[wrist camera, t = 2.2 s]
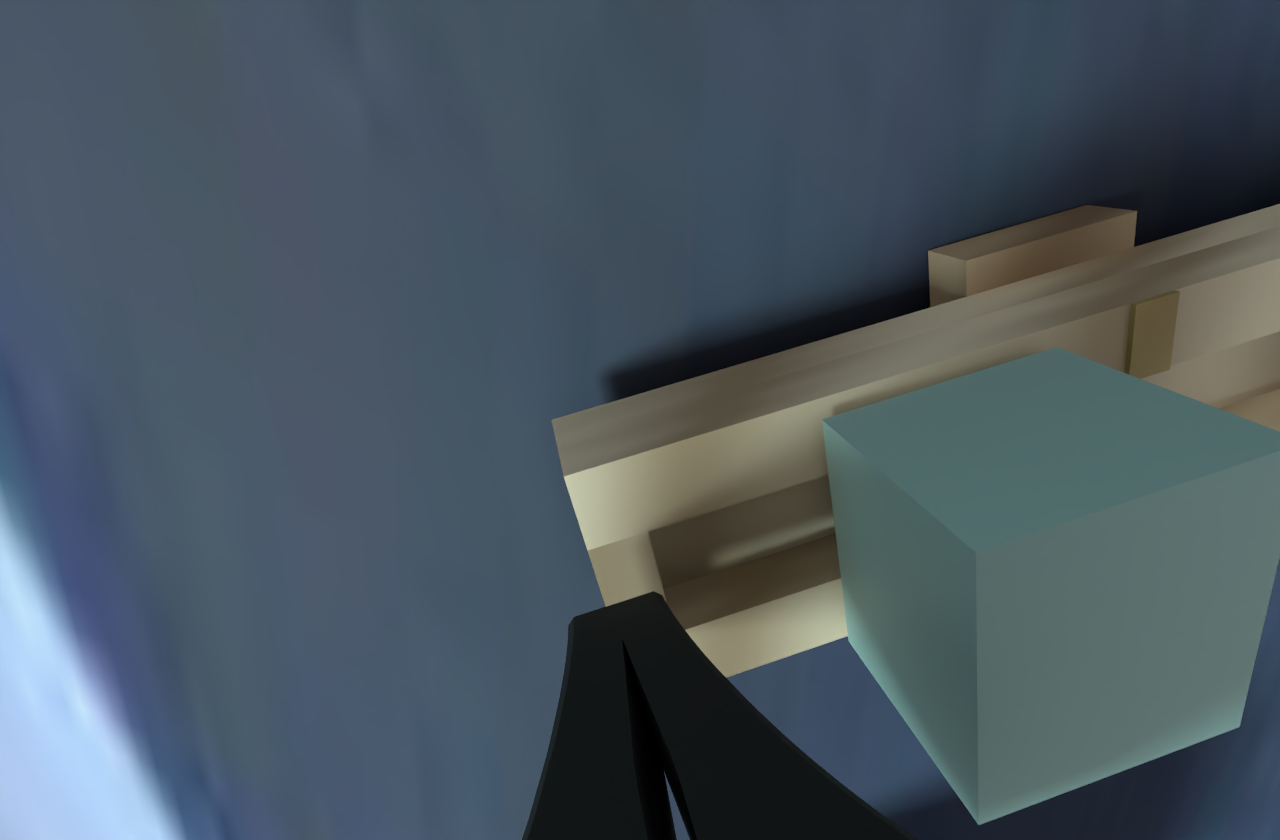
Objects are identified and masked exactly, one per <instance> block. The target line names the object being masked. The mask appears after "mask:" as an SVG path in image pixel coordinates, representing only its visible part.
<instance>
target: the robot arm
mask: <svg viewBox="0 0 1280 840" xmlns="http://www.w3.org/2000/svg"><path fill="white" fill-rule="evenodd" d="M664 772H665V774H666V777H667V780H668V782H669V785H670V788H671V790H672V793H673V796H674V798H675V801H676V803H677V806H678V809H679V811H680V814H681V817H682V819H683V822H684V825H685V827H686V830H687V833H688V835H689V838H690V840H917V839H916V838H915V837H913V836H912V835H910V834H909V833H907V832H906V831H904V830H903V829H902V828H900V827H899V826H897V825H896V824H894V823H893V822H891V821H890V820H888V819H887V818H886V817H884V816H883V815H882V814H880V813H879V812H878V811H876V810H875V809H874V808H872V807H871V806H870V805H869V804H867V803H866V802H865V801H863V800H862V799H861V798H859V797H858V796H857V795H856V794H854V793H853V792H852V791H850V790H849V789H848V788H846V787H845V786H844V785H843V784H841V783H840V782H839V781H838V780H836V779H835V778H834V777H833V776H832V775H830V774H829V773H828V772H827V771H825V770H824V769H823V768H822V767H820V766H819V765H818V764H817V763H816V762H814V761H813V760H812V759H811V758H810V757H808V756H807V755H806V754H805V753H804V752H803V751H802V750H800V749H799V748H798V747H797V746H796V745H795V744H794V743H792V742H791V741H790V740H789V739H788V738H787V737H786V736H785V735H784V734H782V733H781V732H780V731H779V730H778V729H777V728H776V727H775V726H774V725H773V724H772V723H771V722H770V721H769V720H767V719H766V718H765V717H764V716H763V715H762V714H761V713H760V712H759V711H758V710H757V709H756V708H755V707H754V706H753V705H752V704H751V703H750V702H749V701H748V700H747V699H746V698H745V697H744V696H743V695H742V694H741V693H740V692H739V691H738V690H737V689H736V688H735V687H734V686H733V685H732V684H731V683H730V682H729V680H728V679H727V678H726V677H725V676H724V675H723V674H722V673H721V672H720V671H719V670H718V669H717V668H716V666H715V665H714V664H713V663H712V662H711V661H710V660H709V659H708V658H707V656H706V655H705V654H704V653H703V652H702V651H701V649H700V648H699V647H698V646H697V645H696V643H695V642H694V641H693V640H692V638H691V637H690V636H689V635H688V633H687V632H686V631H685V629H684V628H683V627H682V625H681V624H680V623H679V621H678V620H677V619H676V617H675V616H674V614H673V613H672V611H671V610H670V608H669V606H668V605H667V603H666V601H665V600H664V598H663V596H662V595H661V594H659V593H656V592H654V591H653V592H650V593H646V594H643V595H640V596H637V597H634V598H631V599H628V600H625V601H622V602H619V603H616V604H613V605H610V606H606V607H603V608H600V609H597V610H594V611H591V612H588V613H585V614H582V615H579V616H576V617H574V618H573V619H572V621H571V623H570V624H569V628H568V645H567V655H566V663H565V670H564V676H563V682H562V688H561V693H560V699H559V703H558V708H557V712H556V717H555V722H554V726H553V731H552V735H551V740H550V744H549V748H548V752H547V756H546V760H545V764H544V767H543V771H542V774H541V778H540V781H539V785H538V788H537V792H536V795H535V799H534V803H533V806H532V810H531V813H530V816H529V820H528V823H527V826H526V829H525V832H524V835H523V838H522V840H676V834H675V829H674V823H673V818H672V812H671V807H670V801H669V796H668V791H667V785H666V780H665V774H664Z"/></svg>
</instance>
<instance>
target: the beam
mask: <svg viewBox="0 0 1280 840" xmlns="http://www.w3.org/2000/svg"><path fill="white" fill-rule="evenodd" d="M1136 218H1137V211H1133V210H1125V209H1117V208H1108V207H1100V206H1092V205H1085V206H1081V207H1078V208H1074V209H1071V210H1067V211H1064V212H1060V213H1057V214H1053V215H1050V216H1046V217H1043V218H1039V219H1036V220H1033V221H1029V222H1026V223H1022V224H1019V225H1015V226H1012V227H1008V228H1005V229H1001V230H998V231H994V232H991V233H987V234H984V235H980V236H977V237H974V238H970V239H967V240H963V241H960V242H956V243H953V244H949V245H946V246H942V247H939V248H935V249H932V250H928V261H929V287H930V308H927V309H924V310H920V311H917V312H913V313H910V314H907V315H903V316H900V317H897V318H893V319H890V320H886V321H883V322H880V323H876V324H873V325H870V326H866V327H863V328H859V329H856V330H853V331H849V332H846V333H843V334H839V335H836V336H833V337H829V338H826V339H822V340H819V341H816V342H812V343H809V344H806V345H802V346H799V347H795V348H792V349H789V350H785V351H782V352H779V353H775V354H772V355H768V356H765V357H762V358H758V359H755V360H752V361H748V362H745V363H741V364H738V365H735V366H731V367H728V368H725V369H721V370H718V371H715V372H711V373H708V374H704V375H701V376H698V377H694V378H691V379H688V380H684V381H681V382H677V383H674V384H671V385H667V386H664V387H661V388H657V389H654V390H650V391H647V392H644V393H640V394H637V395H634V396H630V397H627V398H624V399H620V400H617V401H613V402H610V403H607V404H603V405H600V406H597V407H593V408H590V409H586V410H583V411H580V412H576V413H573V414H570V415H566V416H563V417H559V418H556V419H553V420H552V424H553V429H554V434H555V438H556V443H557V448H558V452H559V457H560V462H561V466H562V471H563V475H564V479H565V482H566V485H567V488H568V491H569V494H570V498H571V501H572V504H573V507H574V510H575V513H576V516H577V519H578V522H579V525H580V529H581V532H582V535H583V538H584V541H585V544H586V547H587V550H588V553H589V556H590V560H591V563H592V566H593V569H594V572H595V575H596V578H597V581H598V584H599V587H600V591H601V594H602V597H603V600H604V603H605V606H610V605H613V604H616V603H619V602H622V601H625V600H628V599H631V598H634V597H637V596H640V595H643V594H646V593H650V592H653V591H654V592H656V593H659V594H661V595H662V596H663V598H664V600H665V601H666V603H667V605H668V606H669V608H670V610H671V611H672V613H673V614H674V616H675V617H676V619H677V620H678V621H679V623H680V624H681V625H682V627H683V628H684V629H685V631H686V632H687V633H688V635H689V636H690V637H691V638H692V640H693V641H694V642H695V643H696V645H697V646H698V647H699V648H700V649H701V651H702V652H703V653H704V654H705V655H706V656H707V658H708V659H709V660H710V661H711V662H712V663H713V664H714V665H715V666H716V668H717V669H718V670H719V671H720V672H721V673H722V674H723V675H724V676H725V677H729V676H732V675H735V674H738V673H741V672H744V671H747V670H750V669H753V668H755V667H758V666H761V665H764V664H767V663H770V662H773V661H776V660H779V659H782V658H785V657H788V656H791V655H794V654H796V653H799V652H802V651H805V650H808V649H811V648H814V647H817V646H820V645H823V644H826V643H829V642H832V641H835V640H837V639H840V638H843V637H846V636H848V632H847V623H846V615H845V607H844V599H843V590H842V582H841V574H840V566H839V557H838V549H837V541H836V533H835V525H834V516H833V508H832V500H831V492H830V483H829V475H828V467H827V459H826V450H825V442H824V434H823V426H822V419H825V418H829V417H832V416H835V415H838V414H842V413H845V412H848V411H851V410H855V409H858V408H861V407H864V406H868V405H871V404H874V403H877V402H880V401H884V400H887V399H890V398H893V397H897V396H900V395H903V394H906V393H910V392H913V391H916V390H919V389H923V388H926V387H929V386H932V385H936V384H939V383H942V382H945V381H949V380H952V379H955V378H958V377H962V376H965V375H968V374H971V373H975V372H978V371H981V370H984V369H987V368H991V367H994V366H997V365H1000V364H1004V363H1007V362H1010V361H1013V360H1017V359H1020V358H1023V357H1026V356H1030V355H1033V354H1036V353H1039V352H1043V351H1046V350H1049V349H1052V348H1056V347H1058V348H1060V349H1063V350H1065V351H1068V352H1071V353H1073V354H1076V355H1079V356H1081V357H1084V358H1087V359H1089V360H1092V361H1094V362H1097V363H1100V364H1102V365H1105V366H1108V367H1110V368H1113V369H1116V370H1118V371H1121V372H1123V373H1126V374H1129V375H1131V376H1134V377H1137V378H1139V379H1142V380H1145V381H1147V382H1150V383H1152V384H1155V385H1158V386H1160V387H1163V388H1166V389H1168V390H1171V391H1174V392H1176V393H1179V394H1181V395H1184V396H1187V397H1189V398H1192V399H1195V400H1197V401H1200V402H1203V403H1205V404H1208V405H1211V406H1213V407H1216V408H1218V409H1221V410H1224V411H1226V412H1229V413H1232V414H1234V415H1237V416H1240V417H1242V418H1245V419H1247V420H1250V421H1253V422H1255V423H1258V424H1261V425H1263V426H1266V427H1269V428H1271V429H1274V430H1276V431H1279V432H1280V204H1277V205H1274V206H1271V207H1267V208H1264V209H1261V210H1257V211H1254V212H1250V213H1247V214H1244V215H1240V216H1237V217H1234V218H1230V219H1227V220H1223V221H1220V222H1217V223H1213V224H1210V225H1207V226H1203V227H1200V228H1197V229H1193V230H1190V231H1186V232H1183V233H1180V234H1176V235H1173V236H1170V237H1166V238H1163V239H1159V240H1156V241H1153V242H1149V243H1146V244H1143V245H1139V246H1136V247H1134V240H1135V229H1136Z"/></svg>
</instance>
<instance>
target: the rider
mask: <svg viewBox="0 0 1280 840" xmlns="http://www.w3.org/2000/svg"><path fill="white" fill-rule="evenodd" d="M822 426H823V434H824V442H825V450H826V459H827V467H828V475H829V483H830V492H831V500H832V508H833V516H834V525H835V533H836V541H837V549H838V557H839V566H840V574H841V582H842V590H843V599H844V607H845V615H846V623H847V632H848V640H849V642H850V644H851V645H852V647H853V648H854V649H855V651H856V652H857V654H858V655H859V656H860V658H861V659H862V661H863V662H864V664H865V665H866V666H867V668H868V669H869V671H870V672H871V673H872V675H873V676H874V678H875V679H876V681H877V682H878V683H879V685H880V686H881V688H882V689H883V690H884V692H885V693H886V695H887V696H888V698H889V699H890V700H891V702H892V703H893V705H894V706H895V707H896V709H897V710H898V712H899V713H900V715H901V716H902V717H903V719H904V720H905V722H906V723H907V724H908V726H909V727H910V729H911V730H912V732H913V733H914V734H915V736H916V737H917V739H918V740H919V741H920V743H921V744H922V746H923V747H924V749H925V750H926V751H927V753H928V754H929V756H930V757H931V758H932V760H933V761H934V763H935V764H936V766H937V767H938V768H939V770H940V771H941V773H942V774H943V775H944V777H945V778H946V780H947V781H948V783H949V784H950V785H951V787H952V788H953V790H954V791H955V792H956V794H957V795H958V797H959V798H960V800H961V801H962V802H963V804H964V805H965V807H966V808H967V809H968V811H969V812H970V814H971V815H972V817H973V818H974V819H975V821H976V822H977V824H978V825H981V824H984V823H986V822H989V821H991V820H994V819H997V818H999V817H1002V816H1005V815H1007V814H1010V813H1013V812H1015V811H1018V810H1021V809H1023V808H1026V807H1029V806H1031V805H1034V804H1037V803H1039V802H1042V801H1045V800H1047V799H1050V798H1053V797H1055V796H1058V795H1061V794H1063V793H1066V792H1068V791H1071V790H1074V789H1076V788H1079V787H1082V786H1084V785H1087V784H1090V783H1092V782H1095V781H1098V780H1100V779H1103V778H1106V777H1108V776H1111V775H1114V774H1116V773H1119V772H1122V771H1124V770H1127V769H1130V768H1132V767H1135V766H1137V765H1140V764H1143V763H1145V762H1148V761H1151V760H1153V759H1156V758H1159V757H1161V756H1164V755H1167V754H1169V753H1172V752H1175V751H1177V750H1180V749H1183V748H1185V747H1188V746H1191V745H1193V744H1196V743H1199V742H1201V741H1204V740H1206V739H1209V738H1212V737H1214V736H1217V735H1220V734H1222V733H1225V732H1228V731H1230V730H1233V729H1236V728H1238V727H1240V723H1241V719H1242V714H1243V710H1244V706H1245V702H1246V697H1247V693H1248V689H1249V685H1250V680H1251V676H1252V672H1253V668H1254V663H1255V659H1256V655H1257V651H1258V646H1259V642H1260V638H1261V634H1262V629H1263V625H1264V621H1265V617H1266V612H1267V608H1268V604H1269V600H1270V595H1271V591H1272V587H1273V583H1274V578H1275V574H1276V570H1277V566H1278V561H1279V557H1280V432H1279V431H1276V430H1274V429H1271V428H1269V427H1266V426H1263V425H1261V424H1258V423H1255V422H1253V421H1250V420H1247V419H1245V418H1242V417H1240V416H1237V415H1234V414H1232V413H1229V412H1226V411H1224V410H1221V409H1218V408H1216V407H1213V406H1211V405H1208V404H1205V403H1203V402H1200V401H1197V400H1195V399H1192V398H1189V397H1187V396H1184V395H1181V394H1179V393H1176V392H1174V391H1171V390H1168V389H1166V388H1163V387H1160V386H1158V385H1155V384H1152V383H1150V382H1147V381H1145V380H1142V379H1139V378H1137V377H1134V376H1131V375H1129V374H1126V373H1123V372H1121V371H1118V370H1116V369H1113V368H1110V367H1108V366H1105V365H1102V364H1100V363H1097V362H1094V361H1092V360H1089V359H1087V358H1084V357H1081V356H1079V355H1076V354H1073V353H1071V352H1068V351H1065V350H1063V349H1060V348H1058V347H1056V348H1052V349H1049V350H1046V351H1043V352H1039V353H1036V354H1033V355H1030V356H1026V357H1023V358H1020V359H1017V360H1013V361H1010V362H1007V363H1004V364H1000V365H997V366H994V367H991V368H987V369H984V370H981V371H978V372H975V373H971V374H968V375H965V376H962V377H958V378H955V379H952V380H949V381H945V382H942V383H939V384H936V385H932V386H929V387H926V388H923V389H919V390H916V391H913V392H910V393H906V394H903V395H900V396H897V397H893V398H890V399H887V400H884V401H880V402H877V403H874V404H871V405H868V406H864V407H861V408H858V409H855V410H851V411H848V412H845V413H842V414H838V415H835V416H832V417H829V418H825V419H822Z"/></svg>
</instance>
